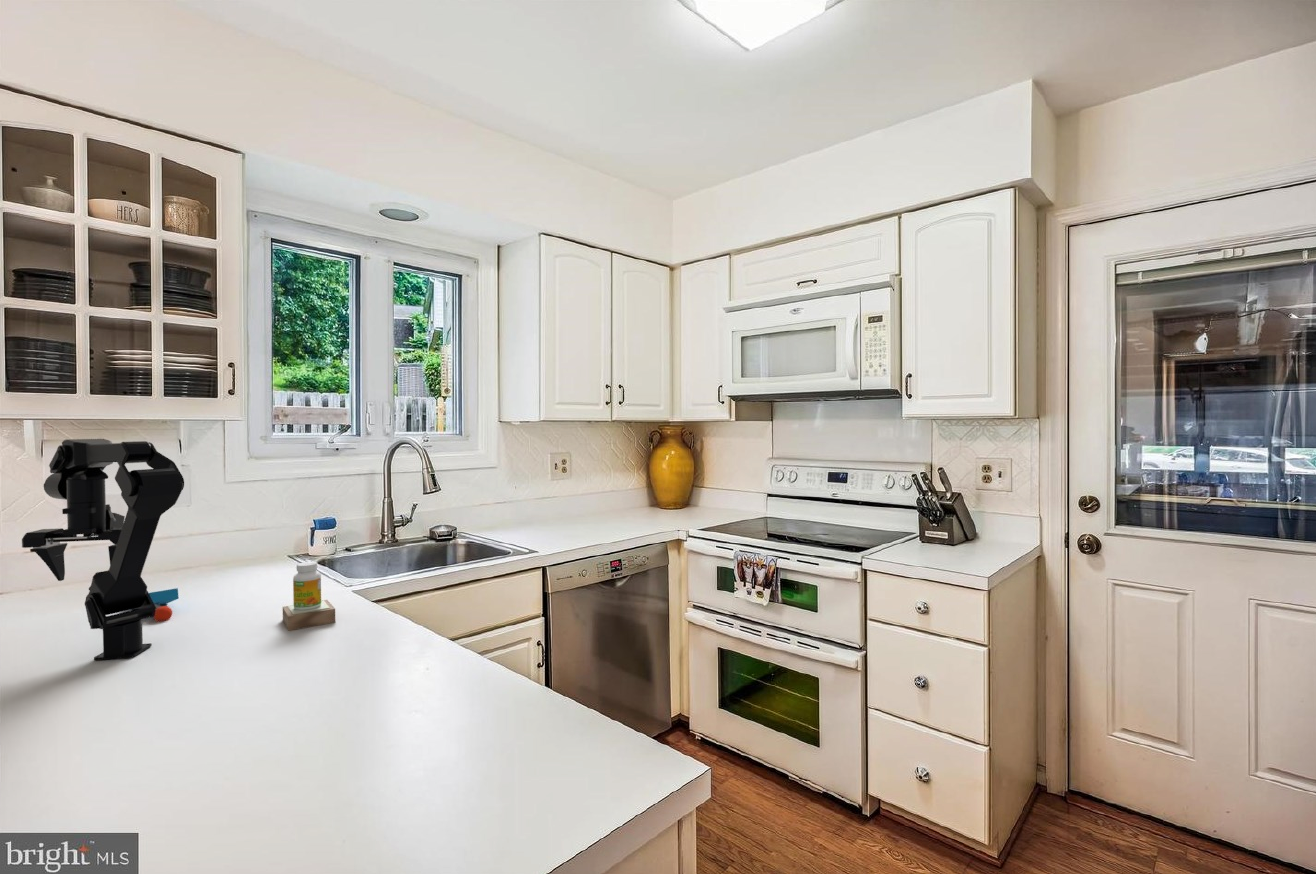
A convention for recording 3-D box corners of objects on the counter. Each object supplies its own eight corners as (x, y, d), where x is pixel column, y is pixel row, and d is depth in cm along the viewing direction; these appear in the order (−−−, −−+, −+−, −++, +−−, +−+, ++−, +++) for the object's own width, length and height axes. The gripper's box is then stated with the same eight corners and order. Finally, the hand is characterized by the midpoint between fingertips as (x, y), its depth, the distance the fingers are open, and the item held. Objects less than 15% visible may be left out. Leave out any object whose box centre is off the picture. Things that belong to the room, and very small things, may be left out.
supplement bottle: (290, 611, 136) (289, 567, 136) (297, 604, 141) (296, 561, 141) (317, 609, 137) (317, 565, 137) (324, 602, 143) (323, 560, 142)
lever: (131, 629, 149) (145, 624, 137) (129, 600, 150) (142, 592, 138) (167, 622, 154) (183, 617, 142) (165, 594, 155) (181, 586, 143)
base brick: (288, 630, 133) (288, 615, 133) (282, 620, 140) (282, 605, 140) (335, 622, 139) (335, 607, 139) (327, 612, 146) (327, 598, 146)
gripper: (162, 495, 135) (164, 567, 135) (59, 498, 131) (61, 572, 131) (131, 502, 124) (133, 580, 124) (18, 505, 120) (20, 586, 120)
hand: (88, 579), depth 125 cm, fingers open, 9 cm apart
